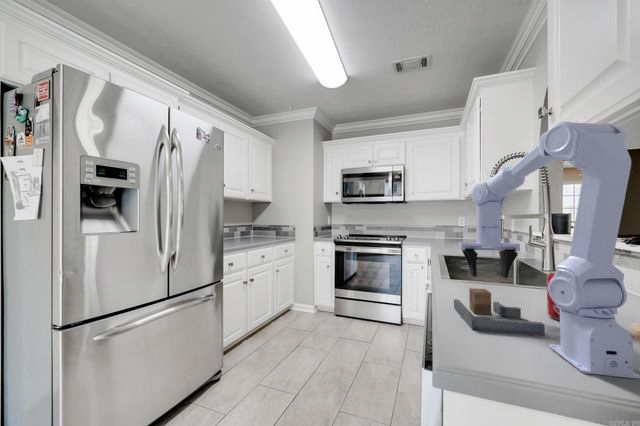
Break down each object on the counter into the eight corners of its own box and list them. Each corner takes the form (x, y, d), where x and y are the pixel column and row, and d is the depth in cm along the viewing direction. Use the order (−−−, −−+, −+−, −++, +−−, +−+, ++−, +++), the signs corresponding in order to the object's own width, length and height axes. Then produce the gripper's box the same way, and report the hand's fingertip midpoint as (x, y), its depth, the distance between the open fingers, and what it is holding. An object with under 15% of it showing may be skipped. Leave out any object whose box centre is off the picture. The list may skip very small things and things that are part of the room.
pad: (497, 318, 69) (497, 317, 69) (471, 316, 70) (471, 315, 70) (488, 310, 75) (488, 309, 75) (464, 309, 76) (464, 308, 76)
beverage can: (586, 324, 65) (585, 275, 65) (557, 322, 66) (556, 274, 66) (568, 315, 71) (567, 270, 71) (541, 313, 72) (541, 269, 73)
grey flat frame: (544, 335, 59) (544, 324, 59) (471, 329, 62) (471, 318, 62) (511, 311, 74) (511, 302, 74) (454, 307, 77) (453, 299, 77)
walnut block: (491, 315, 70) (491, 292, 70) (474, 314, 71) (474, 292, 71) (485, 310, 74) (485, 288, 74) (469, 309, 75) (469, 288, 75)
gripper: (510, 226, 76) (511, 274, 76) (455, 226, 79) (456, 272, 79) (524, 227, 69) (524, 280, 69) (463, 227, 72) (463, 277, 72)
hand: (488, 276), depth 73 cm, fingers open, 7 cm apart
